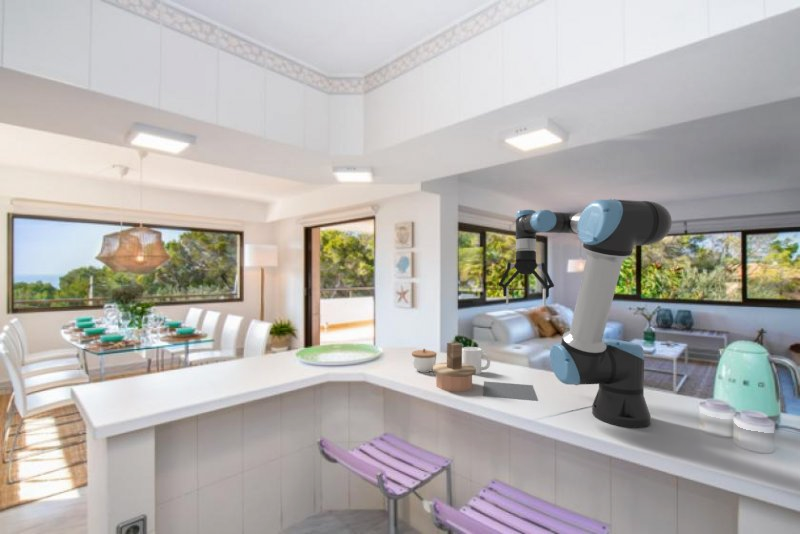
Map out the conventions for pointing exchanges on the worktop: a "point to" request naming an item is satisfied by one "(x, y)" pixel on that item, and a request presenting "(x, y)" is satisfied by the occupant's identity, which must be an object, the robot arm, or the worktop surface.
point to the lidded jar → (423, 360)
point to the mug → (474, 358)
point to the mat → (509, 391)
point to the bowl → (453, 383)
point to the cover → (454, 363)
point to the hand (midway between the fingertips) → (525, 305)
